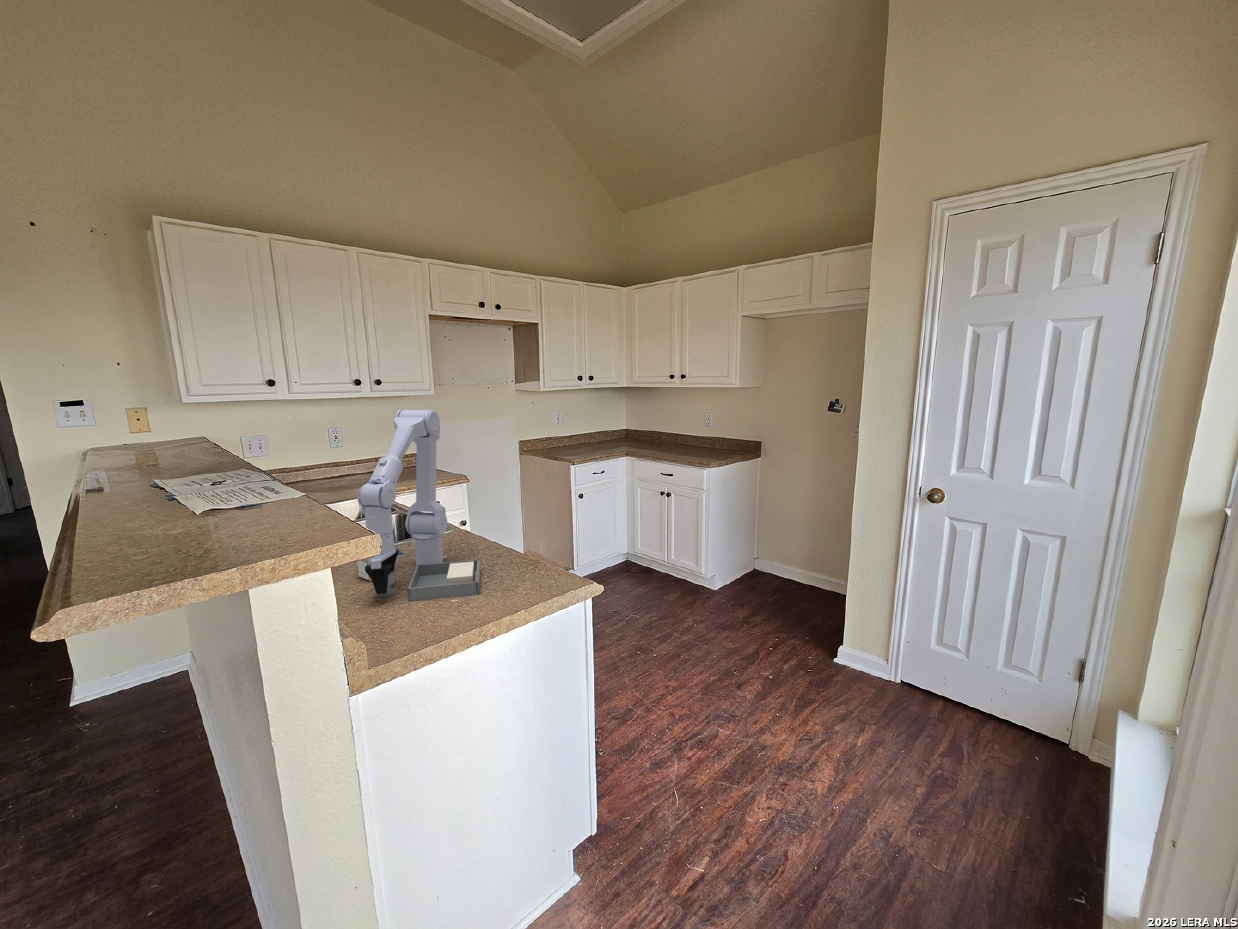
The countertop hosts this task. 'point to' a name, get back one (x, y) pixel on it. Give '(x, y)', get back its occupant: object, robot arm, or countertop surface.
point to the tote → (440, 582)
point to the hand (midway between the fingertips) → (385, 586)
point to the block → (460, 573)
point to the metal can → (389, 586)
